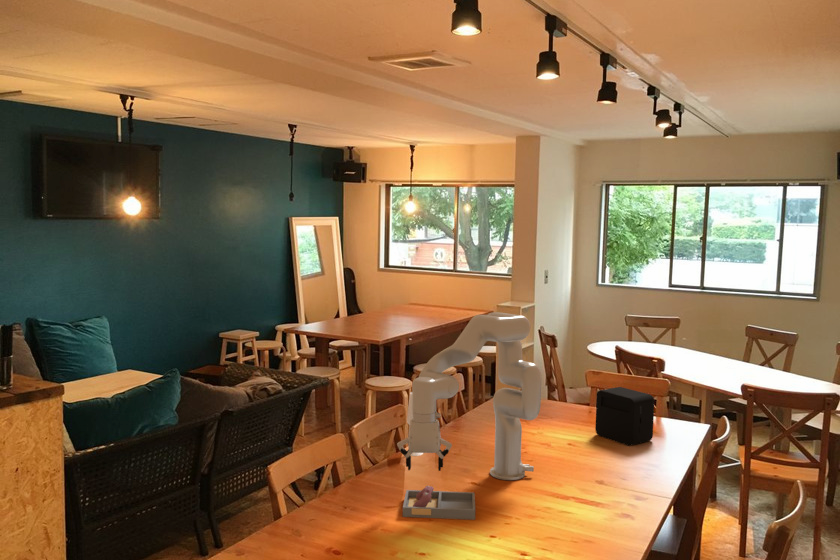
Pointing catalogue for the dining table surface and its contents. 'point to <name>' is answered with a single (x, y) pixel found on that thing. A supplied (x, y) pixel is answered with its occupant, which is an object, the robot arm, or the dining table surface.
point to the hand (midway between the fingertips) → (424, 469)
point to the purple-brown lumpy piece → (424, 497)
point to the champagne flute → (411, 418)
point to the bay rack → (441, 505)
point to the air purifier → (624, 415)
